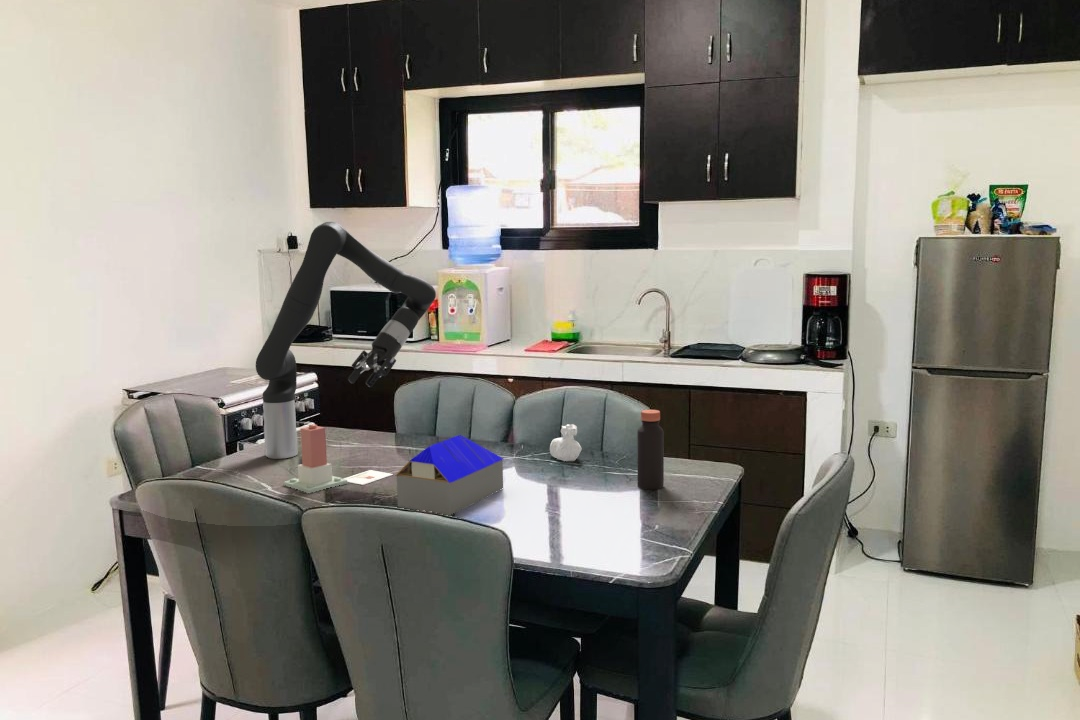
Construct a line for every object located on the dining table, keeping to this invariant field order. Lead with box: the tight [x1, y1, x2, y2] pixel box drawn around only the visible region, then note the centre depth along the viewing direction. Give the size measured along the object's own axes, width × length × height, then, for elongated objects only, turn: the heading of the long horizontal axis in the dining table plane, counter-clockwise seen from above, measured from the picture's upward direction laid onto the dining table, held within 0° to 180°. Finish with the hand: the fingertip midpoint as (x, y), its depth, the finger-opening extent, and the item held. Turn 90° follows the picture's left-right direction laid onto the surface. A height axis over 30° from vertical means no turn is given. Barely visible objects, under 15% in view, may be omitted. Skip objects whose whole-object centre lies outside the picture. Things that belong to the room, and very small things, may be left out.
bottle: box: [636, 409, 665, 491], centre depth 223 cm, size 7×7×20 cm
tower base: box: [283, 462, 348, 494], centre depth 231 cm, size 12×12×6 cm
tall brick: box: [300, 423, 328, 468], centre depth 230 cm, size 5×5×11 cm
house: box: [394, 434, 505, 516], centre depth 217 cm, size 25×16×16 cm, turn 152°
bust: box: [549, 423, 583, 462], centre depth 255 cm, size 12×8×11 cm
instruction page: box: [343, 469, 395, 486], centre depth 238 cm, size 9×12×1 cm
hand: (359, 383), depth 241 cm, fingers open, 8 cm apart
